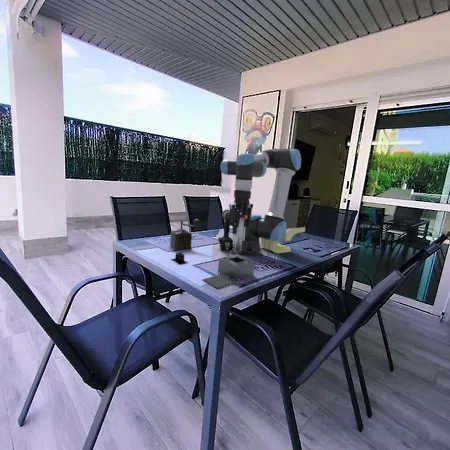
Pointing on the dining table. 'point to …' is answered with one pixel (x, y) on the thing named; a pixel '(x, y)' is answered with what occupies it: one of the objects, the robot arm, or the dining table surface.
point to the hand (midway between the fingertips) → (238, 240)
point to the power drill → (226, 233)
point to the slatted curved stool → (274, 245)
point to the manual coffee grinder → (182, 237)
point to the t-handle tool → (240, 234)
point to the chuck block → (236, 266)
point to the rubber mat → (218, 281)
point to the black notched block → (179, 259)
